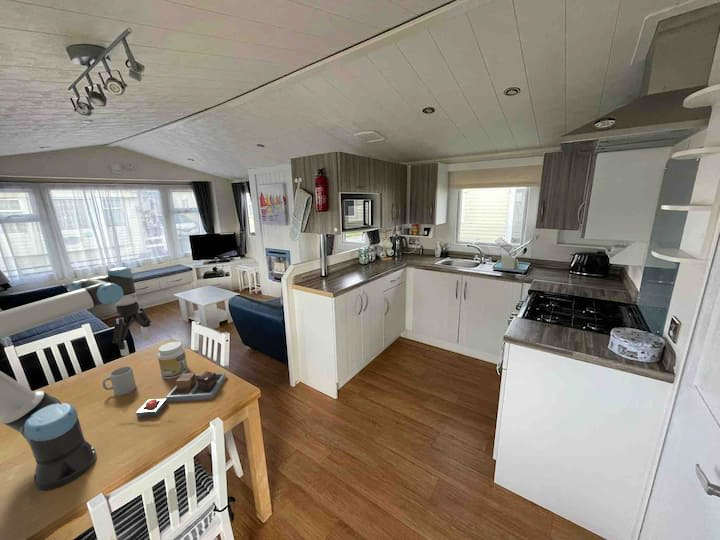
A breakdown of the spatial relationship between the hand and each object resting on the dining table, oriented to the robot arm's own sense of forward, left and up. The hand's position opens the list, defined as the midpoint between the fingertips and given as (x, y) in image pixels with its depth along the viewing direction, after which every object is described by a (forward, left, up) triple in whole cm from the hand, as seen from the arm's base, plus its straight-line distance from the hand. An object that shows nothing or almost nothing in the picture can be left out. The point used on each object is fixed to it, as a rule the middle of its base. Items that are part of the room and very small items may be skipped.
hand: (136, 347), depth 124 cm
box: (+6, -25, -28) cm, 38 cm away
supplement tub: (+22, 0, -29) cm, 36 cm away
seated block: (+6, -15, -28) cm, 32 cm away
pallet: (+6, -20, -29) cm, 35 cm away
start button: (-8, -7, -27) cm, 29 cm away
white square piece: (-8, -7, -29) cm, 31 cm away
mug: (+9, +19, -29) cm, 36 cm away
